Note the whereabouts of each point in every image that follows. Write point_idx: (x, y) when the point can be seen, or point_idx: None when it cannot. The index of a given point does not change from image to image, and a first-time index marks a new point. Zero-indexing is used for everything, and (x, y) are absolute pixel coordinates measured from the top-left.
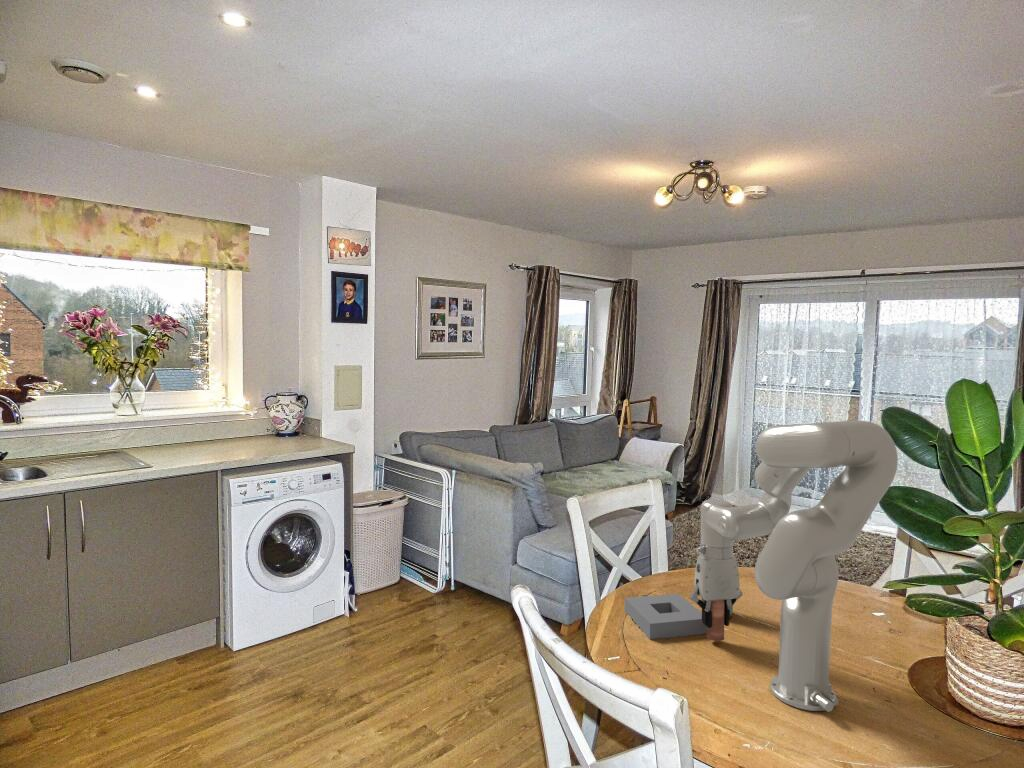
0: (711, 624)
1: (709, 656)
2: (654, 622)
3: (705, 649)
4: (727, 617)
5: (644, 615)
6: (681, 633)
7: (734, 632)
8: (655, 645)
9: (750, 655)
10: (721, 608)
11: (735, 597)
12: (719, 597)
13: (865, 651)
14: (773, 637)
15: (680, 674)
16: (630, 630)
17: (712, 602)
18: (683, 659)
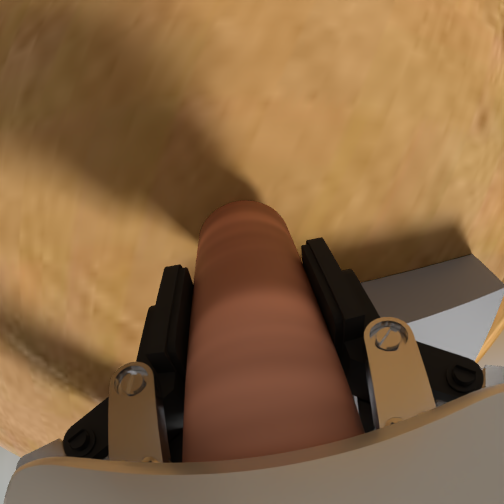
0: (307, 254)
1: (329, 94)
2: (491, 298)
3: (320, 165)
4: (168, 305)
5: (479, 341)
6: (373, 288)
7: (127, 316)
8: (478, 213)
9: (105, 108)
10: (238, 358)
11: (45, 465)
12: (328, 490)
13: None
14: (5, 277)
15: (476, 6)
16: None
17: (348, 414)
18: (445, 93)
